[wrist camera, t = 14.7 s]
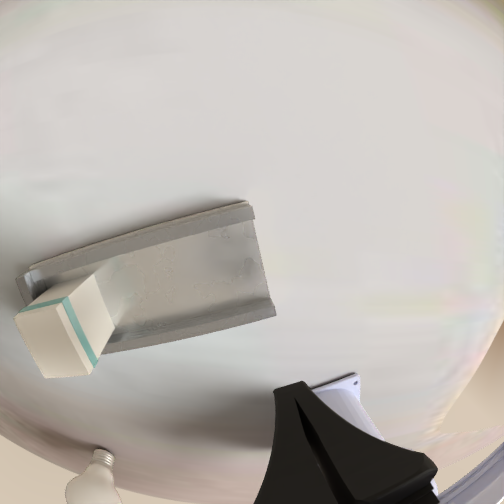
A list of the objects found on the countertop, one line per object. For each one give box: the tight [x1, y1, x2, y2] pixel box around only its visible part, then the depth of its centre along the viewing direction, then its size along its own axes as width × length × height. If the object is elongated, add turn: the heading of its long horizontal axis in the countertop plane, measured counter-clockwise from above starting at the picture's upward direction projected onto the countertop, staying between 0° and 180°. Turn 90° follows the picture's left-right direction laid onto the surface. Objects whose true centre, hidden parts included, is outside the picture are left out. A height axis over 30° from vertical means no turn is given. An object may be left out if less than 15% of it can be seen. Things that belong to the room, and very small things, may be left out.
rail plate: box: [16, 201, 277, 355], centre depth 18 cm, size 8×18×3 cm, turn 103°
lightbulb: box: [65, 449, 122, 504], centre depth 18 cm, size 6×6×11 cm
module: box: [13, 274, 115, 378], centre depth 16 cm, size 5×4×6 cm
